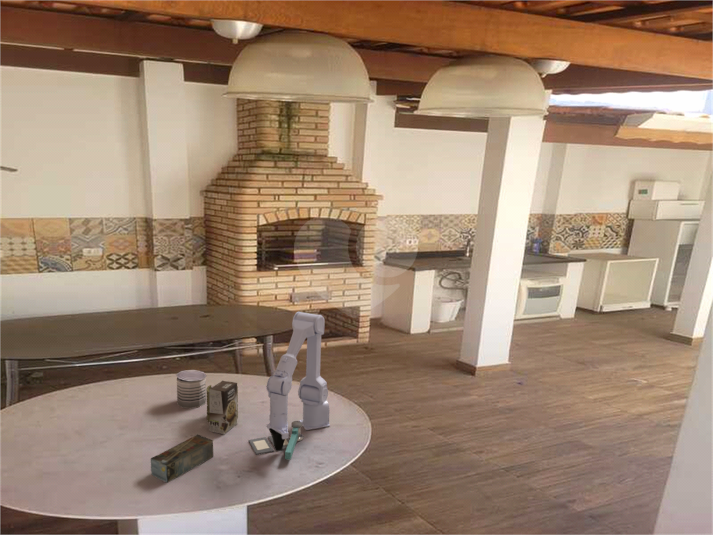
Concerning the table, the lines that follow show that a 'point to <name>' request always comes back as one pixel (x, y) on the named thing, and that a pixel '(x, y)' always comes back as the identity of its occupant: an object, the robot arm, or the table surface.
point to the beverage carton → (181, 458)
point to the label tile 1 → (261, 445)
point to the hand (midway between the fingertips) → (278, 449)
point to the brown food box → (209, 403)
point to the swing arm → (292, 439)
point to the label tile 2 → (283, 444)
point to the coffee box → (223, 406)
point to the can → (191, 388)
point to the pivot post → (299, 435)
